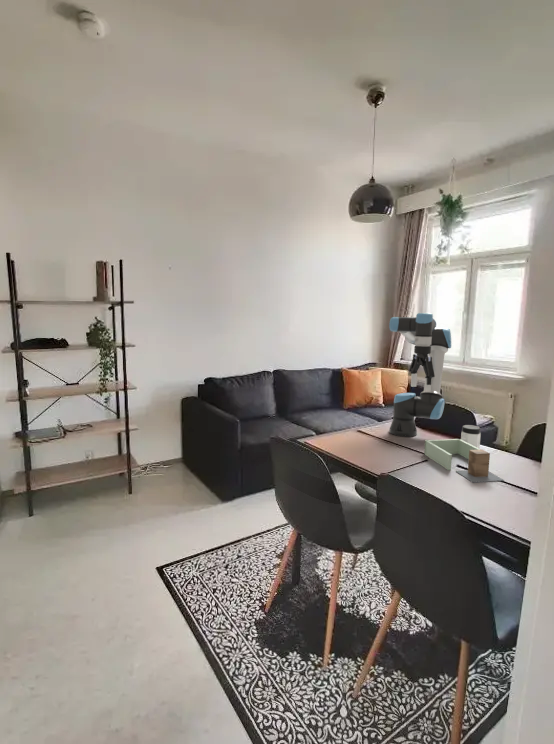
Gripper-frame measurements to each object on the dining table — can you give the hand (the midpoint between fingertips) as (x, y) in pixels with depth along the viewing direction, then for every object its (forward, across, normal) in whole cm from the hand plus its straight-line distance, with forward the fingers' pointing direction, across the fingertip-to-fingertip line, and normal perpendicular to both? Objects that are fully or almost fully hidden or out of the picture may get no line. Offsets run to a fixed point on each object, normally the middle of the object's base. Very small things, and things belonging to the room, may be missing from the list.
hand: (420, 389), depth 198 cm
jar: (+32, +1, +28) cm, 42 cm away
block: (+31, +32, +11) cm, 46 cm away
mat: (+32, +33, +11) cm, 47 cm away
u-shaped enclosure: (+32, +14, +11) cm, 37 cm away
